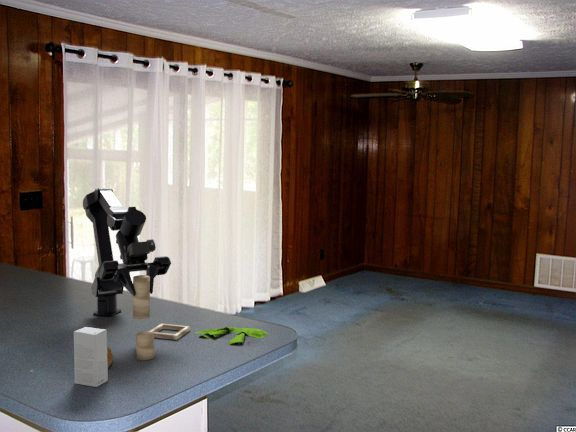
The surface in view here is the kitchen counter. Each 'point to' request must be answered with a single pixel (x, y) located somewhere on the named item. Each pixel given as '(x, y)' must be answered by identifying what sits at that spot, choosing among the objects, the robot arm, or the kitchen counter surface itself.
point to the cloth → (238, 338)
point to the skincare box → (90, 356)
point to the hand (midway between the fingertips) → (143, 294)
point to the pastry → (109, 357)
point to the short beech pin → (145, 345)
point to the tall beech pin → (141, 297)
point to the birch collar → (173, 327)
